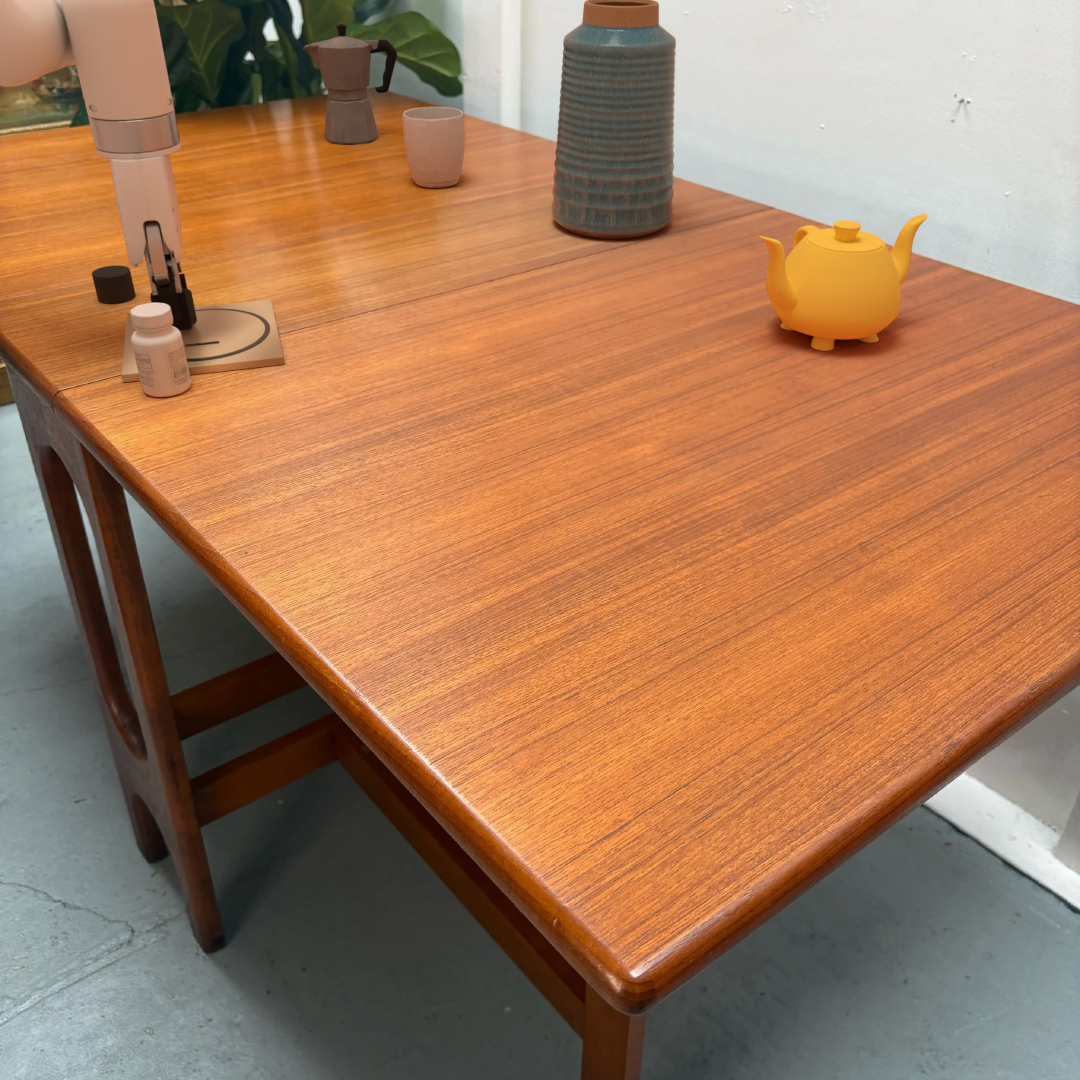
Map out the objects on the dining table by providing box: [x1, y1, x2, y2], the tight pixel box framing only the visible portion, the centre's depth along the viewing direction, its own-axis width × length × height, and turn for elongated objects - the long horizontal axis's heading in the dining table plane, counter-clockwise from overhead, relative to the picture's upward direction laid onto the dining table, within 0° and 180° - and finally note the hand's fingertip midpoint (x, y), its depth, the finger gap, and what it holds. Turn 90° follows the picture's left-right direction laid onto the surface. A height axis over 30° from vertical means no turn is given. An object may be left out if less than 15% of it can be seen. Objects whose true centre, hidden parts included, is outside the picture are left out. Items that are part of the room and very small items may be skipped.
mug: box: [402, 106, 466, 189], centre depth 153 cm, size 13×9×10 cm
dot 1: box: [91, 264, 136, 305], centre depth 113 cm, size 4×4×3 cm
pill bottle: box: [129, 302, 192, 398], centre depth 93 cm, size 4×4×8 cm
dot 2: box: [149, 288, 197, 325], centre depth 103 cm, size 4×4×3 cm
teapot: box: [758, 213, 928, 352], centre depth 105 cm, size 20×15×12 cm
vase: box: [550, 0, 677, 240], centre depth 131 cm, size 16×16×27 cm
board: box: [120, 299, 286, 383], centre depth 104 cm, size 15×16×1 cm
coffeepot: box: [303, 23, 398, 145], centre depth 173 cm, size 15×9×18 cm, turn 95°
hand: (175, 319), depth 104 cm, fingers closed on dot 2, 4 cm apart
